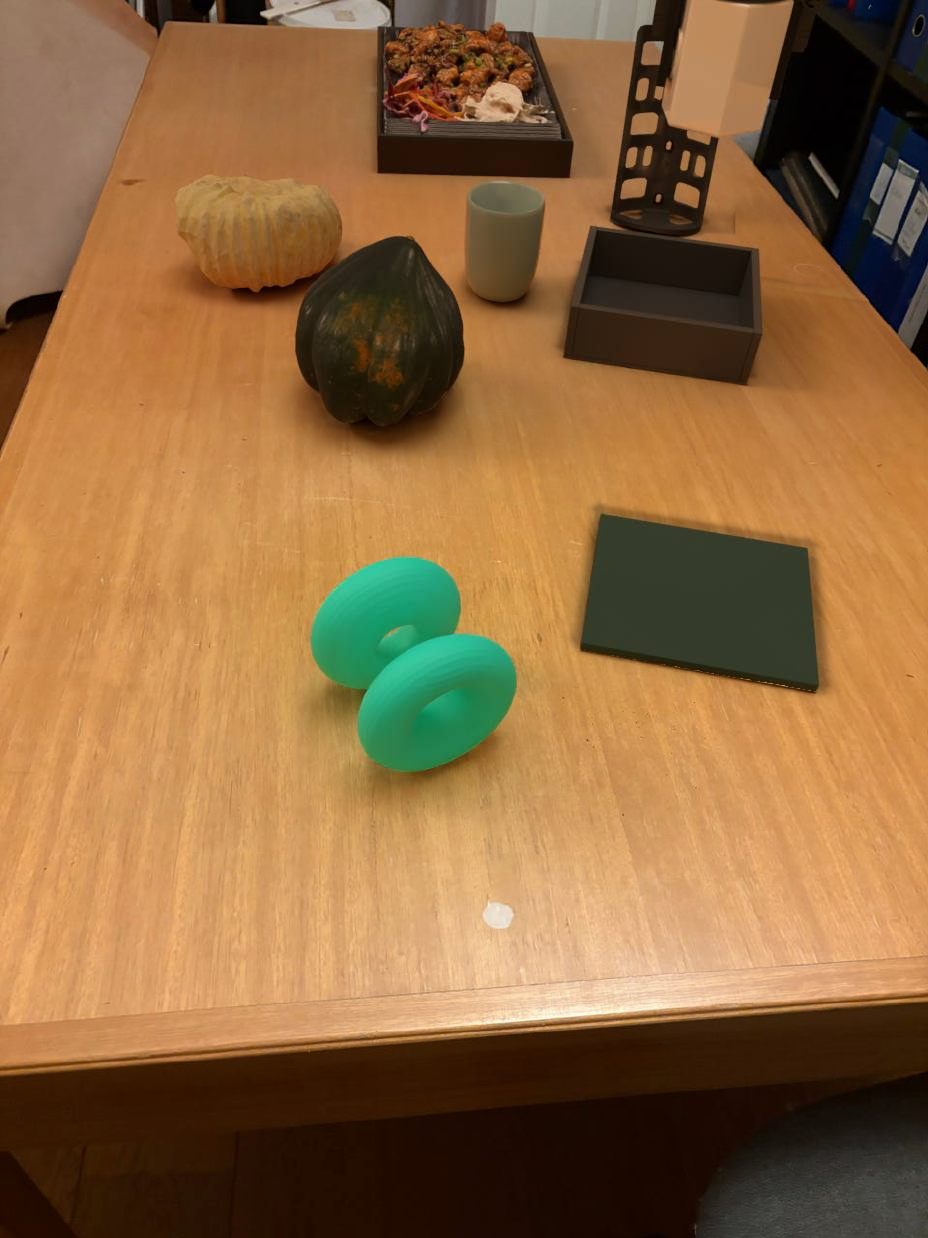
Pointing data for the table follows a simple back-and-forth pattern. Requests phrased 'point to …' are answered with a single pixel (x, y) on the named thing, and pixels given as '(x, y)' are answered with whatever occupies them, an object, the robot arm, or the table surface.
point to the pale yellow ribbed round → (257, 229)
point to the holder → (659, 160)
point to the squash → (380, 334)
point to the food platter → (467, 104)
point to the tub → (666, 305)
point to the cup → (503, 238)
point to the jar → (724, 64)
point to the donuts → (412, 664)
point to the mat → (702, 602)
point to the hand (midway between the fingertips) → (716, 87)
